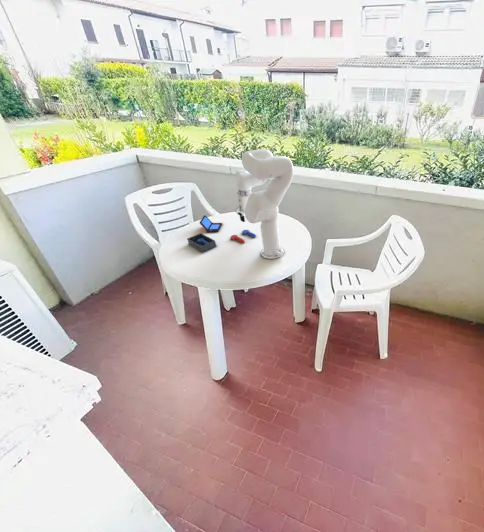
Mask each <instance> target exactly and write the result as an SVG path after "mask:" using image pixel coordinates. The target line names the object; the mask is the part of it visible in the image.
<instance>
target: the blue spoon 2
mask: <svg viewBox="0 0 484 532" xmlns="http://www.w3.org/2000/svg"><path fill="white" fill-rule="evenodd" d="M241 233H242V235H244V236H249V237H251V238H256V237H257V234H255V233H253V232H251V231H250V230H249V229H243V230H242V232H241Z"/></svg>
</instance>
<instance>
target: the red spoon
mask: <svg viewBox="0 0 484 532" xmlns="http://www.w3.org/2000/svg"><path fill="white" fill-rule="evenodd" d="M230 239H231V240H232V241H237V242H239V243H241V244H245V241H246V240H245V239H243V238H241V237H239V236H238V235H237V234H232V235H230Z"/></svg>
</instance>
